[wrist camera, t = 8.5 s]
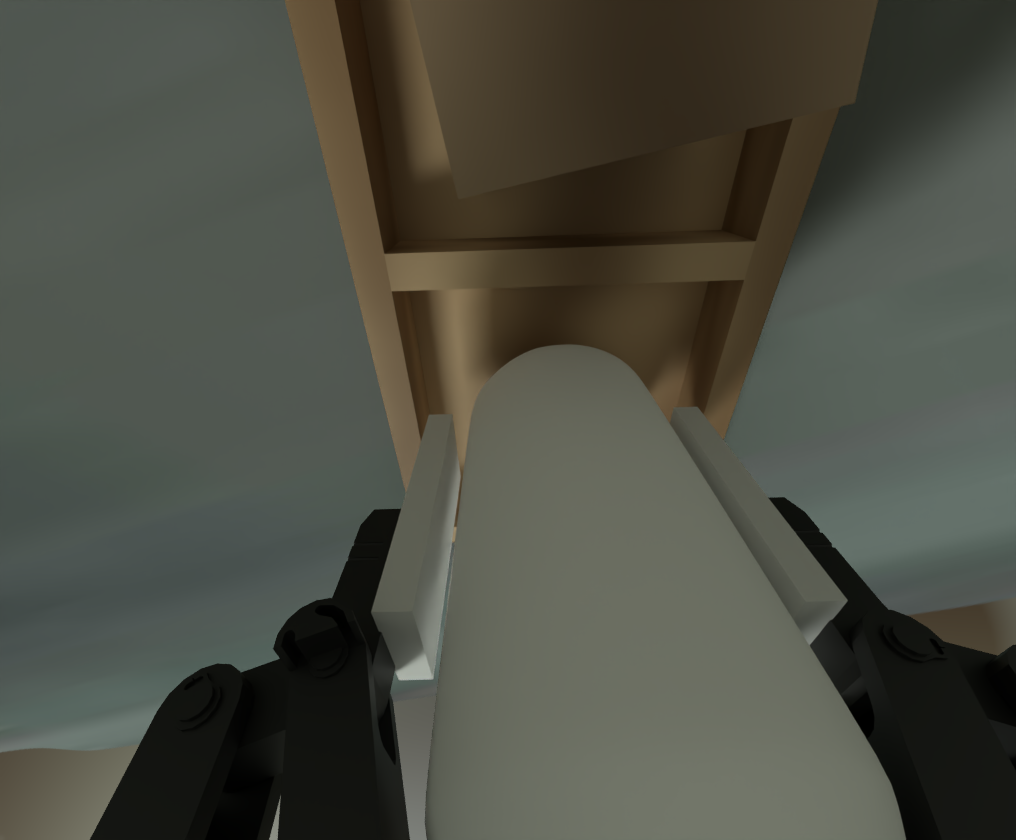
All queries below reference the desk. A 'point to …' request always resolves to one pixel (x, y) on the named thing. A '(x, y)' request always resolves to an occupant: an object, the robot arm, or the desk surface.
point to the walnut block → (625, 76)
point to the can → (624, 641)
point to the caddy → (541, 238)
